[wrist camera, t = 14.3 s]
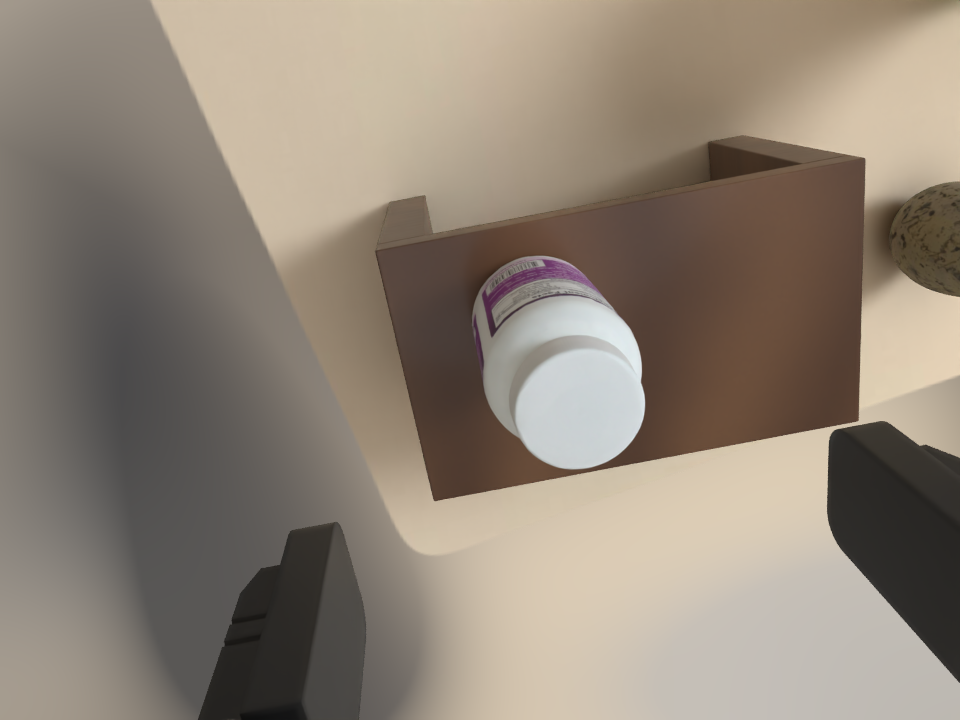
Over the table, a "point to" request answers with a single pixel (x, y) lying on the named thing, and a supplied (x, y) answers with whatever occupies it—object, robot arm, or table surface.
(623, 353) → the pill bottle
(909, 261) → the decorative egg
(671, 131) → the table surface
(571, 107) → the table surface
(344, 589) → the robot arm
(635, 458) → the desk shelf
